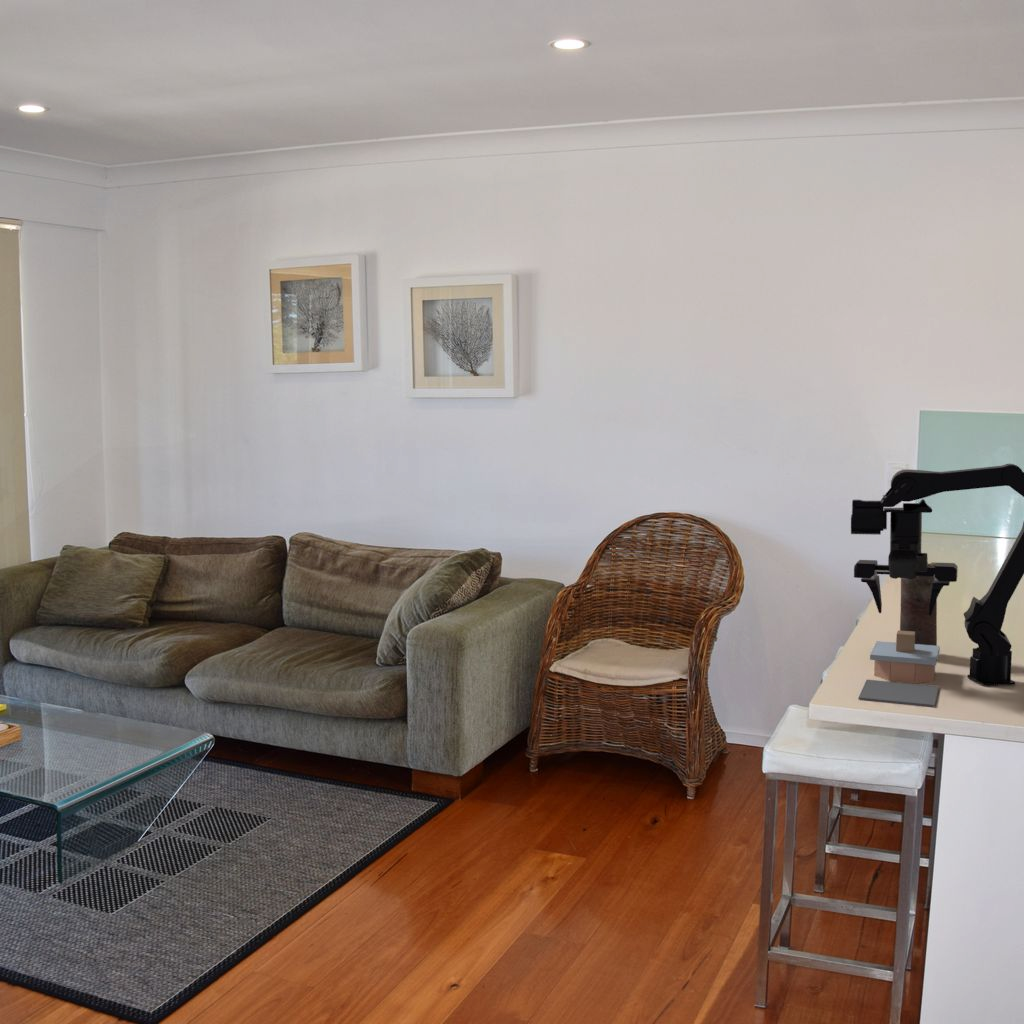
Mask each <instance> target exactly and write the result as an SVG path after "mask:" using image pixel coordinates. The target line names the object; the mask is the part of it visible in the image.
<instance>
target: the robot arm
mask: <svg viewBox="0 0 1024 1024" xmlns="http://www.w3.org/2000/svg"><path fill="white" fill-rule="evenodd" d="M1005 486H1007V487H1010V488H1012V490H1013V491H1015V492H1016V493H1018V494H1019V495H1021V496H1022V497H1023V498H1024V471H1023V469H1022V468H1021V467H1020V466H1018V465H1017V464H1014V463H1005V464H1002V465H994V466H985V467H975V468H967V469H965V468H964V469H957V470H946V471H931V470H925V469H924V470H922V469H907V468H906V469H901V470H898V471H897V472H896V473H895V474H894V475H893V476H892V478H891V481H890V488H889V489H888V490H887V492H886V493H885V494H883V495H882V498H881V499H880V500H863V499H852V502H851V503H852V504H851V509H852V510H851V515H850V534H851V535H870V536H871V535H872V536H873V535H881V533H882V532H883V531H884V530H887V529H888V528H887V527H888V525H887V524H888V513H890V523H889V524H890V525H889V526H890V527H889V529H890V535H889V536H890V537H889V554H888V560H887V562H888V564H878V559H877V560H876V559H875V560H873V559H859V560H857V562H856V563H855V564H854V568H853V578H857V579H860V582H862V583H866V584H867V586H868V588H869V590H870V591H871V593H872V596H873V600H874V602H875V605H876V609H877V612H878V614H882V612H883V611H882V608H883V603H882V602H883V601H882V594H881V593H882V591H881V583H880V575H888V576H889V577H890V578H891V579H893V580H896V579H901V578H907V579H914V578H916V576H934V580H933V585H932V592H931V598H930V604H929V616H931V614H932V611H933V608H934V606H935V603H936V600H937V601H938V597H939V595H940V593H941V592H942V589H943V587H944V586H945V587H947V586H950V583H951V582H953V583H955V582H957V581H958V580H957V579H958V572H959V571H958V570H959V569H958V565H957V564H956V563H955V562H935V563H936V564H935V567H927V566H928V564H929V563H928V553H927V552H922V536H923V535H922V528H923V527H922V523H923V522H922V519H923V517H922V516H923V515H922V514H923V513H925V514H926V513H928V514H929V513H932V512H933V509H932V507H931V506H930V505H928V503H926V500H925V499H924V498H928V497H931V496H934V495H937V494H941V493H944V492H945V493H946V492H954V491H956V492H957V491H963V490H964V491H967V490H975V489H985V488H994V487H995V488H996V487H1005ZM920 499H921V500H920ZM917 500H920V501H919V502H918V503H914V502H913V501H917ZM901 502H903V503H902V507H895V506H897V505H898V504H900V503H901ZM908 502H909V503H908ZM1022 522H1023V523H1022V526H1021V530H1020V531H1019V533H1018V535H1017V537H1016V539H1015V541H1014V542H1013V544H1012V546H1011V548H1010V550H1009V552H1008V553H1007V555H1006V557H1005V559H1004V561H1003V563H1002V565H1001V567H1000V569H998V572H997V574H996V576H995V578H994V579H993V581H992V583H991V585H990V587H989V588H988V591H987V592H986V593H985V595H983V596H982V597H981V599H978V598H977V597H975V596H973V597H972V599H971V601H970V605H969V607H968V608H967V610H966V611H965V612H963V616H964V628H965V631H966V632H967V636H968V638H969V639H970V641H971V642H973V643H974V644H976V645H977V647H973V648H972V656H970V658H969V674H967V678H968V679H969V680H972V681H973V682H975V683H978V684H980V685H981V686H983V687H984V686H985V687H986V686H989V687H990V686H991V687H992V686H1008V685H1010V686H1011V685H1016V681H1015V680H1012V677H1011V676H1012V659H1013V658H1012V654H1013V651H1012V650H1011V649H1012V644H1011V642H1010V640H1009V638H1008V636H1007V635H1006V634H1005V633H1004V632H1003V631H1002V628H1003V624H1004V620H1005V616H1006V613H1007V609H1008V608H1007V607H1008V604H1009V601H1010V600H1011V598H1012V596H1013V595H1014V593H1015V591H1016V589H1017V587H1018V586H1019V583H1020V582H1021V581H1022V578H1023V577H1024V521H1022Z"/></svg>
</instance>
